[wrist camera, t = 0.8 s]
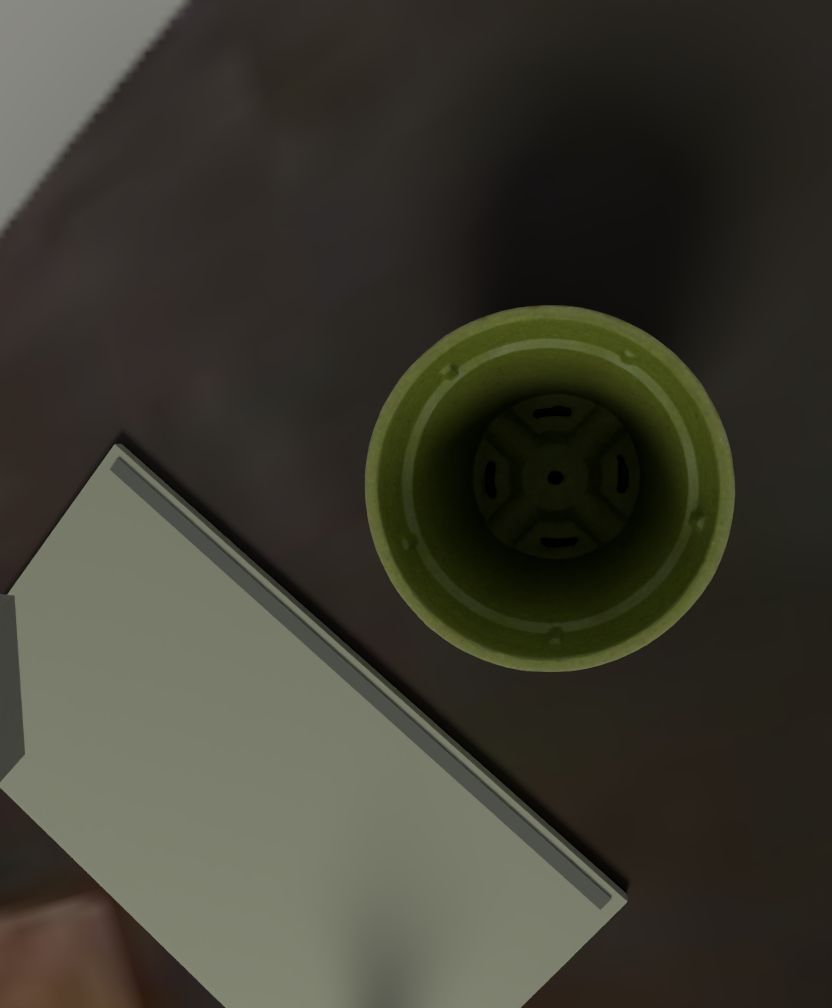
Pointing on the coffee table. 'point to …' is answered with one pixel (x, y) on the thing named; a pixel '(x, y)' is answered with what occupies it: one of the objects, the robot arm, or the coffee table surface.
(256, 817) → the mat
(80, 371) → the coffee table surface
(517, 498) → the plant pot
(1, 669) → the robot arm
